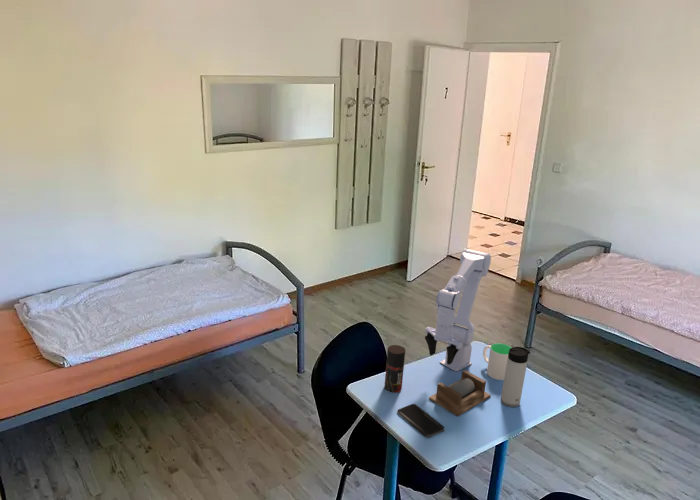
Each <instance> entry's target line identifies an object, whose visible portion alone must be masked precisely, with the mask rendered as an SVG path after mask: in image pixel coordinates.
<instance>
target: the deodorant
mask: <svg viewBox="0 0 700 500" xmlns="http://www.w3.org/2000/svg"><path fill="white" fill-rule="evenodd" d="M386 352H387V353H386V354H387V355H386V366H385V376H384V389H385V391H387V392H389V393H392V394H394V393H395V394H396V393H400V392H401V391H402V389H403V388H402V386H403V378H404V367H405V358H406V348H405V347H403V346H402V345H398V344H392V345H389V346H388V347H387V351H386Z"/></svg>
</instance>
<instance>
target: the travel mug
mask: <svg viewBox="0 0 700 500" xmlns="http://www.w3.org/2000/svg"><path fill="white" fill-rule="evenodd" d="M530 354H531V350H530V349H527V348H525V347H523V346H522V347H521V346H513V347H512V348H510V350H509V354H508V359H507V365H506V371H505V377H504V380H503V382H502V390H501V396H500V402H501V403H502V404H503V405H505V406H507V407H510V408H517V407H518V406H520V404H521V399H522V393H523V387H524V383H525V376H526V371H527V365H528V359H529V355H530Z"/></svg>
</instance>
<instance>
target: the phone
mask: <svg viewBox="0 0 700 500" xmlns="http://www.w3.org/2000/svg"><path fill="white" fill-rule="evenodd" d="M396 413H397V415H399V416H400V418H402V419H403V420H404V421H405V422H407V423H408V424H409V425H410V426H412V427H413V429H415V430H416V431H417V432H418V433H420V434H421V435H422V436H423V437H424V438H431V437H434V436H436V435H438V434H440V433H443V432H444V431H445V426H444V425H443V424H441V423H440V422H439V421H438V420H436V419H435V418H434V417H432V416H431V415H429V413H428V412H427V411H426V410H424V409H422V408H421V407H420V406H419V405H418V404H416V403H412V404H408V405H406V406H403V407H401V408H398V409H397V412H396Z"/></svg>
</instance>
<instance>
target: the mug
mask: <svg viewBox="0 0 700 500" xmlns="http://www.w3.org/2000/svg"><path fill="white" fill-rule="evenodd" d="M510 348H512V347H511V346H510V345H508V344H505V343H498V342H497V343H493V344H491V345H490V344H488V345H486V346H485V347H484V348H483V351H482V357H483V359H484V361H485V362H486V364H487V369H486V374H487V376H489V377H490V378H492V379H494V380H498V381H504V377H505V371H506V365H507V359H508V354H509V350H510ZM488 349H489V356H488V354H487V351H488Z"/></svg>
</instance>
